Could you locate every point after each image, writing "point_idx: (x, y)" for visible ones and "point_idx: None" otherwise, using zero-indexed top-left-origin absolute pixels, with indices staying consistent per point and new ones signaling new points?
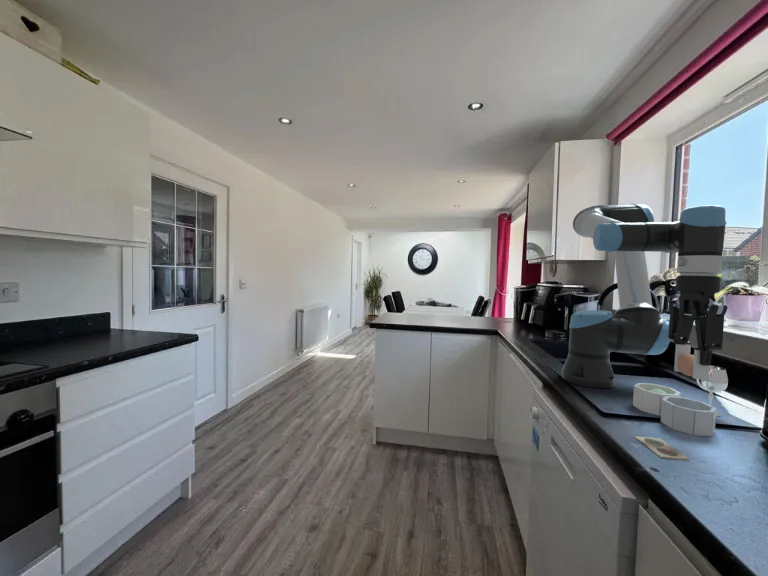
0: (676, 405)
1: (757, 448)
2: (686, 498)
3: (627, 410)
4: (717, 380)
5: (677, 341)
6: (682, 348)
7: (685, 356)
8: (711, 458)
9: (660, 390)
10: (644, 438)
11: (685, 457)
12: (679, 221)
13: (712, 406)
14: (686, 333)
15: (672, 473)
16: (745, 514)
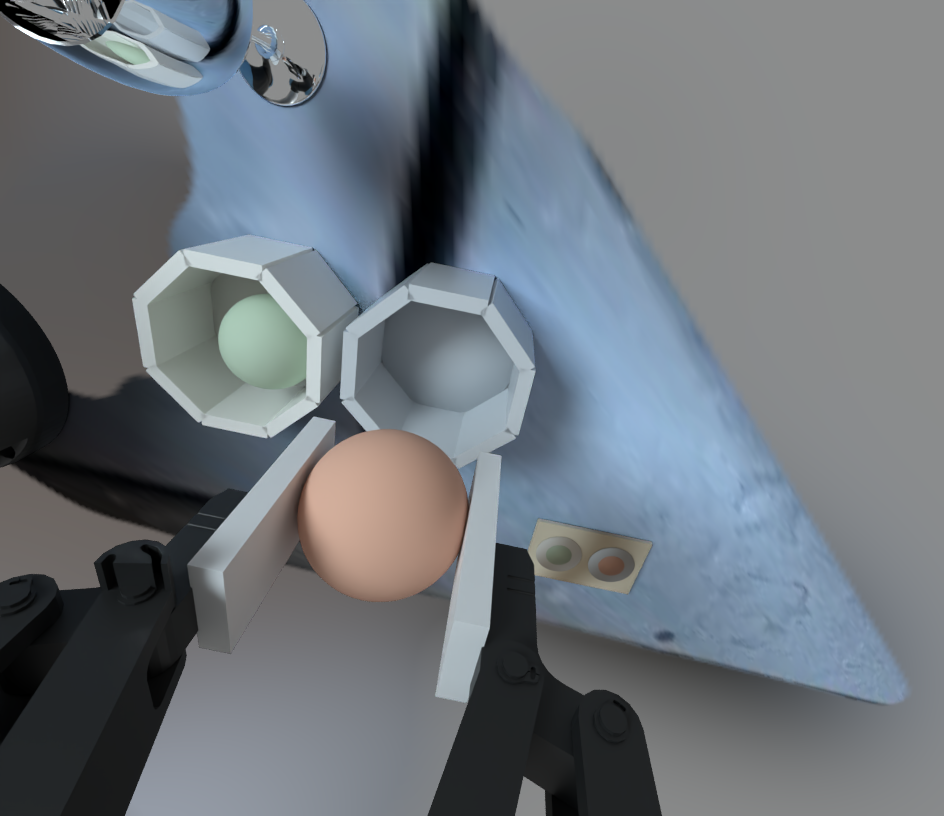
0: (456, 457)
1: (637, 247)
2: (763, 659)
3: None
4: (218, 25)
5: (182, 670)
6: (249, 597)
7: (365, 600)
8: (656, 478)
9: (256, 358)
10: (536, 560)
11: (645, 547)
12: None
13: (469, 298)
14: (118, 747)
15: (688, 617)
16: (838, 614)
